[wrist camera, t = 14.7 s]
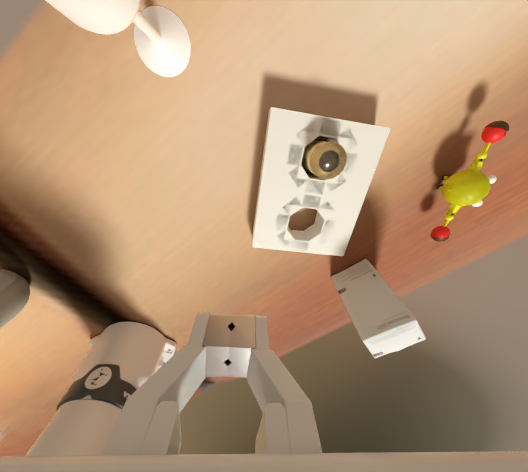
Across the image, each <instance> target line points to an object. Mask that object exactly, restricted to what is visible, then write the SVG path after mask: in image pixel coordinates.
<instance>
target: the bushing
mask: <svg viewBox="0 0 528 472" xmlns="http://www.w3.org/2000/svg"><path fill="white" fill-rule="evenodd" d="M346 161H347V155H346V152H345V150H344V148H343V147H342V146H341V145H340V144H338V143H334V142H326V141H317V140H314V141H312V142H311V143H309V144H308V145H307V146H305V148H304V153H303V158H302V162H301V163H302V165H303V167H304V168H306V169H307V170H309V171H310V172H312V173H313V174H315V175H316V176H318V177H319V178H322V179H332V178H334V177H336V176H338V175H339V174H340V173H341V172H342V171H343V169H344V167H345V165H346Z"/></svg>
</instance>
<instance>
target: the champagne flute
mask: <svg viewBox="0 0 528 472" xmlns="http://www.w3.org/2000/svg"><path fill="white" fill-rule="evenodd" d="M45 1H47V2H48V3H49V4H50V5H52V6H53V7H54V8H56V9H57V10H58V11H59V12H61V13H62V14H63V15H65V16H66V17H67V18H69V19H70V20H71V21H72V22H74V23H75V24H77V25H78V26H80V27H82V28H84V29H86V30H89V31H92V32H94V33H98V34H107V35H109V34H116V33H118V32H120V31H123V30H124V29H126V28H127V27H128V26H129V25H130V24H131V23H132V22H133V23H134V24H135V27H134V40H135V45H136V48H137V51H138V53H139V55H140V57H141V59H142V60H143V62H144V63H145V64H146V66H147V67H148V68H149V69H151V70H152V71H153V72H155V73H156V74H158V75H161V76H164V77H173V76H176V75H178V74H180V73H181V72H183V70H184V69H185V68H186V66H187V64H188V62H189V59H190V52H191V46H190V39H189V35H188V33H187V30H186V28H185V26H184V24H183V22H182V21H181V20H180V19H179V17H178V16H177V15H176V14H175V13H174V12H172V11H171V10H169V9H168V8H165V7H162V6H156V5H155V6H150V7H147V8H145V9H144V10H143V11H142V12H140V11H139V5H140V0H45Z"/></svg>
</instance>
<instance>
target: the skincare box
mask: <svg viewBox="0 0 528 472" xmlns="http://www.w3.org/2000/svg"><path fill="white" fill-rule="evenodd" d="M331 279H332V281H333V283H334V284H335V286H336V289H337V291H338V293H339V295H340V297H341V299H342V301H343V303H344V305H345V307H346V309H347V311H348V313H349V315H350V317H351V319H352V321H353V323H354V325H355V327H356V329H357V331H358V333H359V335H360V337H361V339H362V341H363V342H364V344H365V345H366V347H367V348H368V349H369V351H370V352H371V354H372V355H373V357H374V358H377V357H380V356H382V355H385V354H388V353H390V352H395V351H399V350H402V349H404V348H405V347H407V346H410V345H412V344H415V343H417V342H420V341H422V340H425V339H426V337H425V335H424V333H423V331H422V329H421V328H420V326H419V324H418V322H417V320H416V319H415V317H414V316H413V315H412V314H411V312H410V311H409V310H408V309H407V307H406V306H405V305H404V304H403V302H402V301H401V300H400V299H399V297H398V296H397V295H396V294H395V293H394V291H393V290H392V289H391V288H390V286H389V285H388V284H387V283H386V282H385V280H384V279H383V278H382V277H381V275H380V274H379V273H378V272H377V270H376V269H375V268H374V267H373V266H372V264H371V263H370V262H369V261H368V260H367V259H364V260H362V261H361V262H359V263H357V264H355V265H353V266H351V267H349V268H347V269H346V270H343V271H341V272H339V273H337V274H335V275H333V276H331Z"/></svg>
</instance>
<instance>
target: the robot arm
mask: <svg viewBox="0 0 528 472" xmlns="http://www.w3.org/2000/svg"><path fill="white" fill-rule="evenodd" d="M89 345H90V346H91V348H90V350H89V351H88V353H87V355H86V356H85V358H84V359H83V361H82V362H81V364H80V365H79V367H78V369H77V370H76V372H75V373H74V376H73V378H74V381H75V382H74V383H73V384H72V385H71V387H70V388H69V390H68V391H67V392H66V393H65V394H64V396H63V397H62V400H61V401H60V403H59V404H58V406H57V411H56V413H55V414H54V416H53V417H52V419H51V420H50V421H49V423H48V424H47V426H46V427H45V429H44V430H43V431H42V433H41V434H40V436H39V437H38V438H37V440H36V441H35V443H34V444H33V446H32V447H31V448H30V450H29V451H28V453H27V454H26V455H25V456H0V472H528V452H413V453H322V450H321V445H320V441H319V436H318V431H317V427H316V422H315V418H314V413H313V408H312V404H311V402H310V400H309V399H308V398H307V396H306V395H305V393H304V392H303V391H302V389H301V388H300V387H299V385H298V384H297V382H296V381H295V380H294V378H293V377H292V376H291V374H290V373H289V372H288V370H287V369H286V367H285V366H284V365H283V364H282V362H281V361H280V359H279V358H278V356H277V355H276V354H275V352H274V351H273V350H269V339H268V327H267V317H266V316H258V315H241V314H223V313H212V312H211V313H210V312H198V314H197V317H196V320H195V323H194V326H193V330H192V333H191V336H190V339H189V343H188V346H183V347H182V348H181V349H180V350H179V351H178V352H177V353H176V354H175V350H176V346H177V344H176V343H175V342H174V341H172V340H170V339H167V338H165V337H164V336H163V335H162V334H161V333H160V332H158V331H157V330H156V329H154V328H152V327H150V326H148V325H145V324H141V323H137V322H119V323H115V324H112V325H110V326H108V327H107V328H106V329H105V330H104V331H103V332H102V333H101V334H100V335H98V336H95V337H93V338H92V339H91V341H90V342H89ZM226 374H227V375H226ZM205 376H230V377H246V378H247V381H248V383H249V385H250V387H251V389H252V391H253V393H254V395H255V397H256V400H257V402H258V404H259V406H260V408H261V410H262V412H263V417H262V420H261V424H260V428H259V431H258V435H257V438H256V454H193V455H178V454H179V450H180V445H181V430H180V415H179V413H180V412H181V410H182V409H183V407H184V406H185V405H186V403H187V402H188V401H189V399H190V398H191V396H192V395H193V394H194V392H195V391H196V390H197V388H198V387H199V385H200V384H201V383H202V381H203V380H204V379H205Z"/></svg>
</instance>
